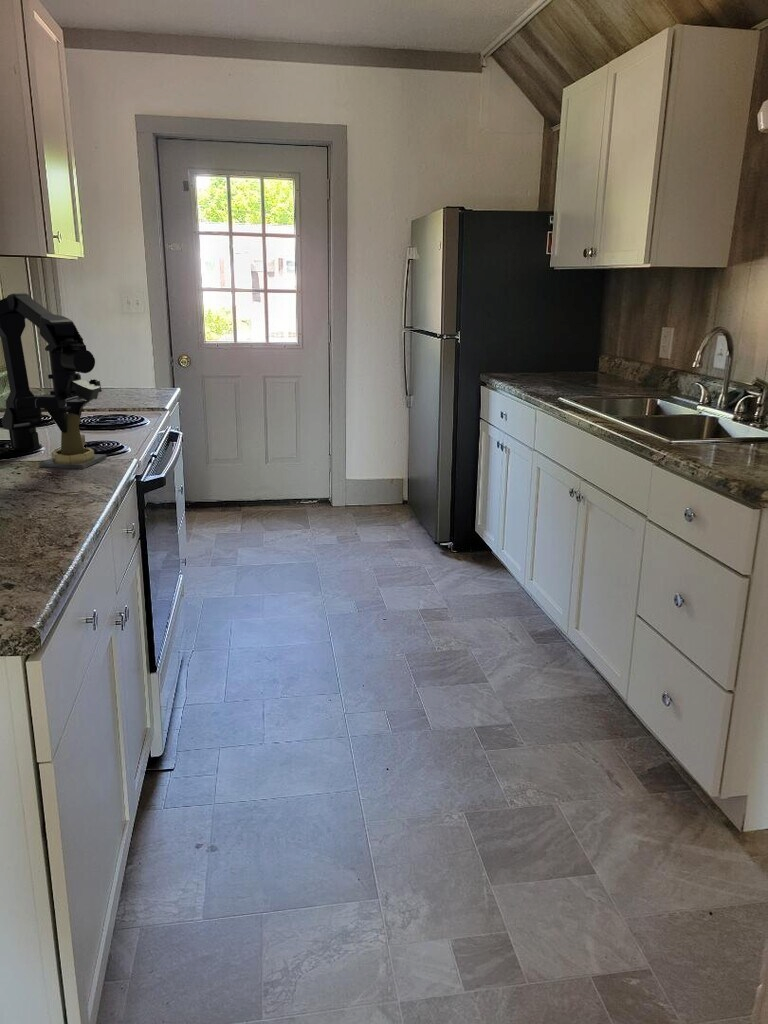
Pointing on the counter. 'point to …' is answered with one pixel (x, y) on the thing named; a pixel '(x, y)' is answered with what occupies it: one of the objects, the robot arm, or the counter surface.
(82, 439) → the walnut block
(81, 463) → the cup bracket
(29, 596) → the counter surface
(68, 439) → the olive brown tapered cylinder
